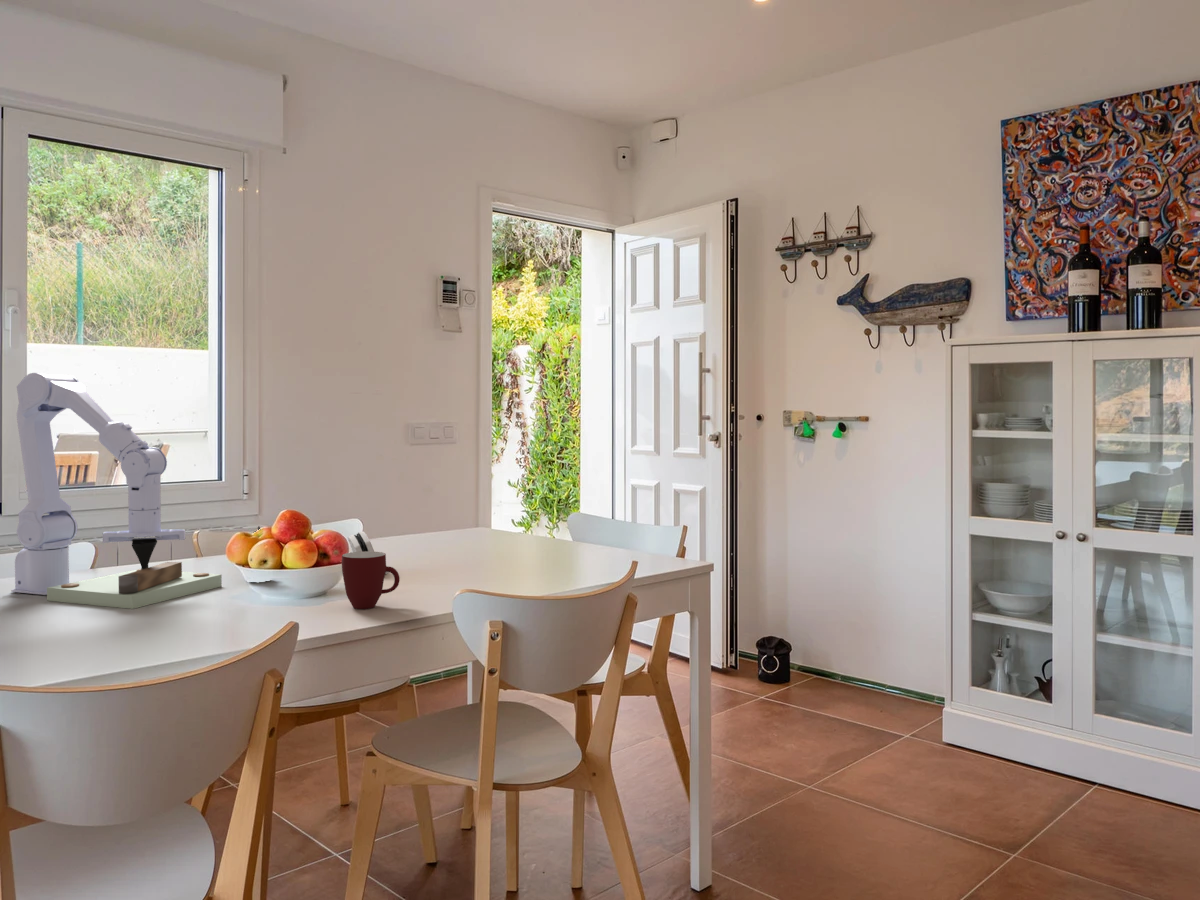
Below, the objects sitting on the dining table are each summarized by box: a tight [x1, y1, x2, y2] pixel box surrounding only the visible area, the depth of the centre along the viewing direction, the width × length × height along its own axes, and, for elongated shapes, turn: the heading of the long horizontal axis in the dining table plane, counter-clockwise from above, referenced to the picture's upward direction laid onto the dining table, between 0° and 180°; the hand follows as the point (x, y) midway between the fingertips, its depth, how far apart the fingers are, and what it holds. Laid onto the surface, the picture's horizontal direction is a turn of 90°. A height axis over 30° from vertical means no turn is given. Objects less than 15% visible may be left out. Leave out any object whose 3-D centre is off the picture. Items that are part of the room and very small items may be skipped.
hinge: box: [347, 531, 389, 575], centre depth 206 cm, size 17×5×10 cm, turn 22°
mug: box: [341, 551, 401, 610], centre depth 166 cm, size 10×8×10 cm
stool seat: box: [46, 568, 223, 610], centre depth 177 cm, size 21×23×3 cm
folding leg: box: [119, 561, 183, 594], centre depth 172 cm, size 18×3×3 cm, turn 177°
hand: (145, 576), depth 175 cm, fingers closed
